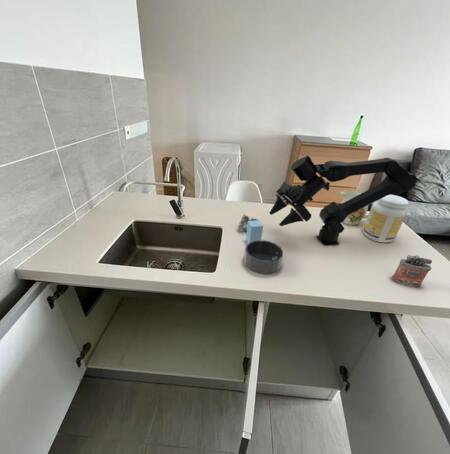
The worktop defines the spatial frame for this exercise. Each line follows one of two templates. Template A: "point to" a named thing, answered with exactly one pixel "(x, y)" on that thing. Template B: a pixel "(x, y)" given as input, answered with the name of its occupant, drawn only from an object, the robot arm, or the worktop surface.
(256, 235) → the ice block
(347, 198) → the pitcher
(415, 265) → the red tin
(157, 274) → the worktop surface
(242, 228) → the egg carton
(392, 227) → the supplement tub
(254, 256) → the pot
